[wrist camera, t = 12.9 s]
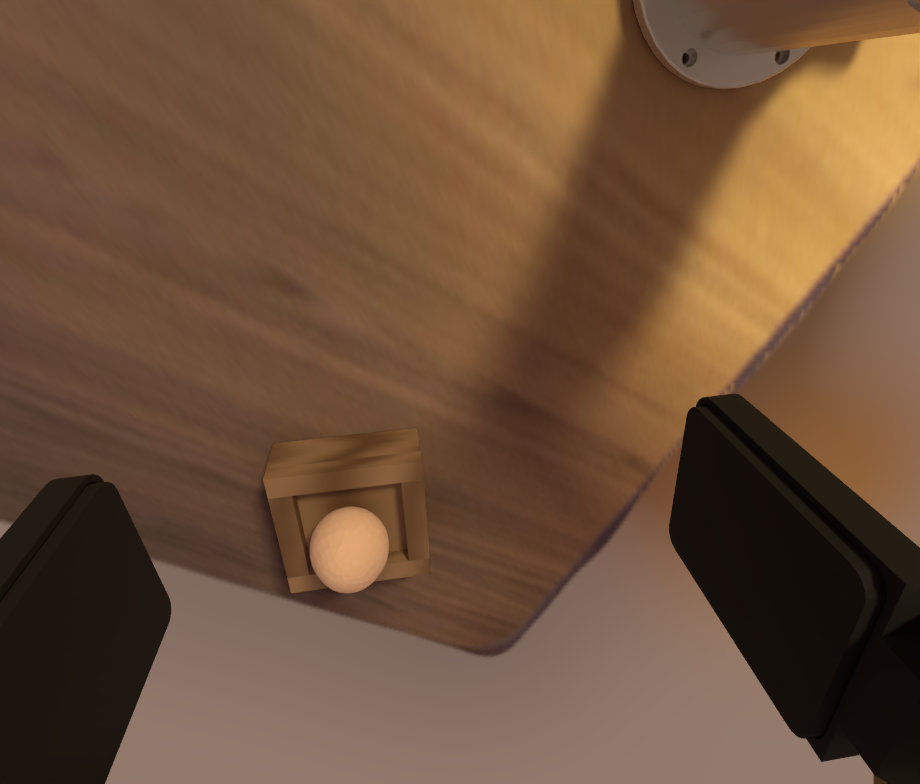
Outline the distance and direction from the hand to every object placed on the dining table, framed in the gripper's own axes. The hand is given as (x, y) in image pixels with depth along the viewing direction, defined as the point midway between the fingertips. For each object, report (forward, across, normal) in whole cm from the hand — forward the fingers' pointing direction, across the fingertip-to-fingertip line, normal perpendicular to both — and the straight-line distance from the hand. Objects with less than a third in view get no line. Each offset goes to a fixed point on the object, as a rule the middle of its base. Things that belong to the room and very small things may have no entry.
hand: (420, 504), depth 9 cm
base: (+26, +5, +20) cm, 33 cm away
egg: (+23, +6, +20) cm, 31 cm away
